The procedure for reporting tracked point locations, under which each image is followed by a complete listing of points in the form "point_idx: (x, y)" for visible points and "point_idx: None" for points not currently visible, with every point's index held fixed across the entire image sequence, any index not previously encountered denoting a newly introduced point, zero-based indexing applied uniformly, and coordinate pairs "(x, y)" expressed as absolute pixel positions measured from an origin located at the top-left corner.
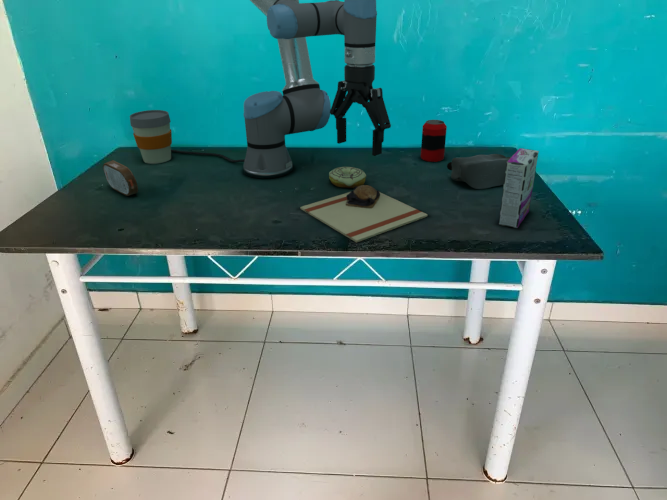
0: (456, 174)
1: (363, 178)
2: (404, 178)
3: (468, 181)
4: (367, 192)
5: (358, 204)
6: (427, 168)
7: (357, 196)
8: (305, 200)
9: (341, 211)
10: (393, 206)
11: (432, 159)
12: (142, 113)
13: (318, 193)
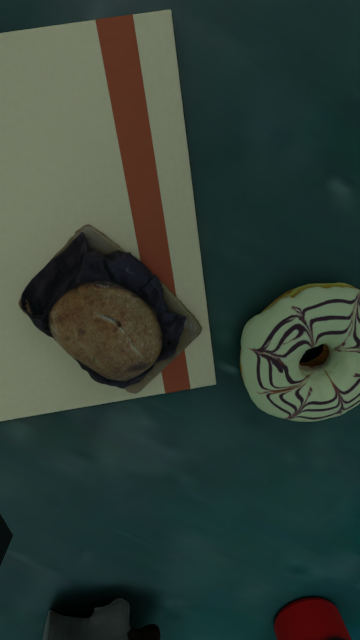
0: (100, 624)
1: (249, 393)
2: (223, 506)
3: (48, 624)
4: (67, 330)
5: (48, 265)
6: (250, 581)
7: (83, 285)
8: (247, 95)
9: (37, 176)
10: (6, 377)
11: (284, 616)
12: None
13: (281, 191)
